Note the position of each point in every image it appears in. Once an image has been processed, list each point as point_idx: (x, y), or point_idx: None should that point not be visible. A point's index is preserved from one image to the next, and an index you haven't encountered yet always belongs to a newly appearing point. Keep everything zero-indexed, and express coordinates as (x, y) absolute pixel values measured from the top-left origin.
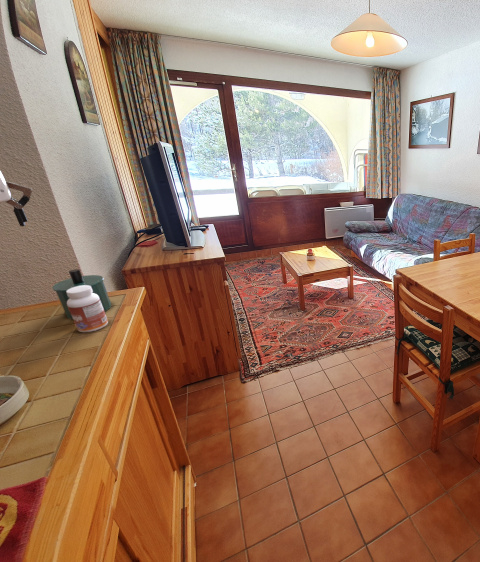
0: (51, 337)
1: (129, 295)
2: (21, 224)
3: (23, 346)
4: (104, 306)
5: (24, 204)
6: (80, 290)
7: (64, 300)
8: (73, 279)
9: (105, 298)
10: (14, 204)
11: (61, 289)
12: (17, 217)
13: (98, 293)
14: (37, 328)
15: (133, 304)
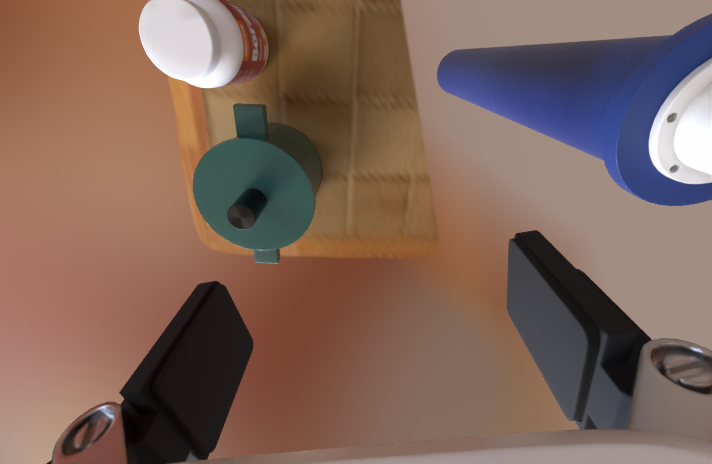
0: (321, 33)
1: None
2: (206, 286)
3: (371, 10)
4: None
5: (51, 462)
6: (162, 15)
7: (293, 147)
8: (254, 195)
9: None
10: (92, 454)
11: (281, 157)
12: (185, 327)
13: None
14: (365, 116)
15: (183, 152)
